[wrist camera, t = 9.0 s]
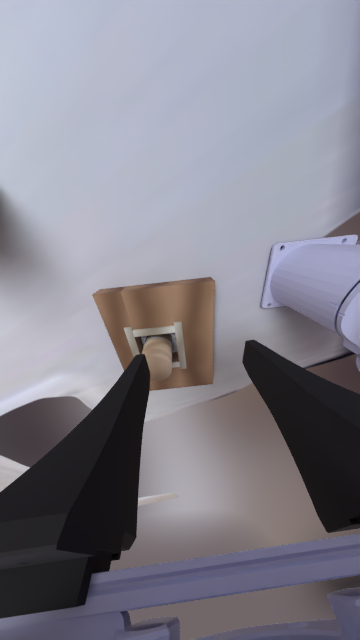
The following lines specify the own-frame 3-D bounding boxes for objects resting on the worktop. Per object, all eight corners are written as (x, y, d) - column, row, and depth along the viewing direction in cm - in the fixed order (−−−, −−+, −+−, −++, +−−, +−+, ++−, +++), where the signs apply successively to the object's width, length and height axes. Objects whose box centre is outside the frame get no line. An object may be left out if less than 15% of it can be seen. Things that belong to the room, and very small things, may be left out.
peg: (171, 327, 21) (171, 356, 16) (173, 348, 23) (173, 380, 18) (144, 328, 21) (134, 357, 16) (147, 350, 23) (140, 382, 18)
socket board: (210, 277, 18) (215, 281, 16) (209, 374, 27) (212, 384, 25) (100, 289, 18) (91, 295, 16) (135, 382, 27) (133, 393, 25)
